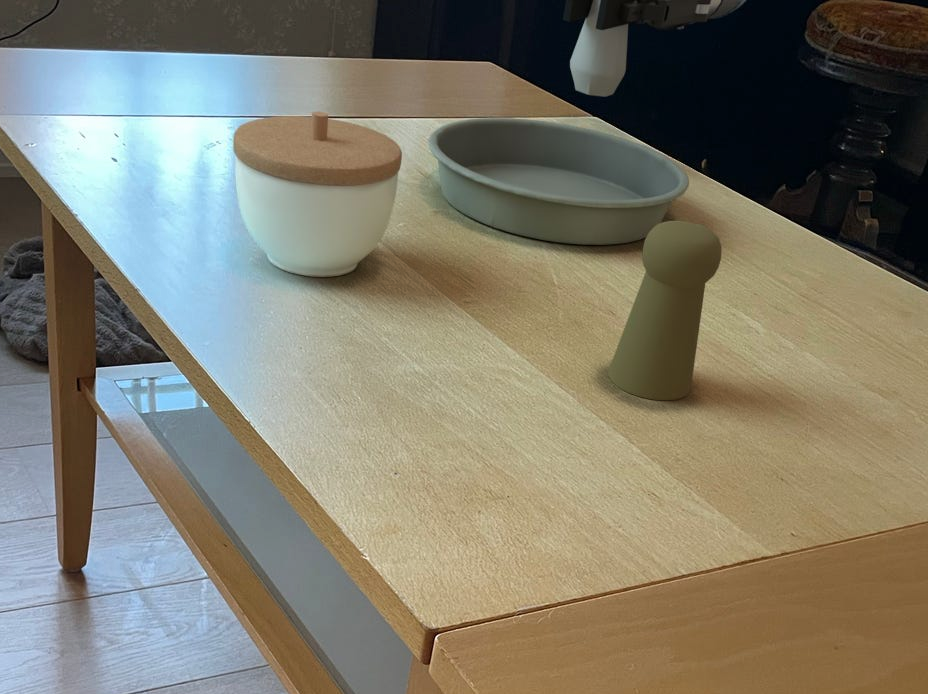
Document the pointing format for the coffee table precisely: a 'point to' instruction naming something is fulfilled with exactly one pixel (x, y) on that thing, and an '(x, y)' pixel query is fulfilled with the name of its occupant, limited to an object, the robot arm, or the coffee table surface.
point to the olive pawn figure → (666, 312)
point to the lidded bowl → (315, 190)
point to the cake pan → (554, 180)
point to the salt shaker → (599, 56)
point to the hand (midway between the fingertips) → (585, 9)
